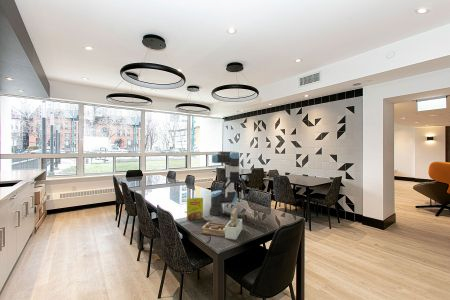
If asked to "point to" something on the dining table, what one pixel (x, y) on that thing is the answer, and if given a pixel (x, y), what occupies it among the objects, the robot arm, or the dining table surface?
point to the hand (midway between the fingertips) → (234, 197)
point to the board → (234, 218)
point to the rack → (208, 225)
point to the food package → (194, 208)
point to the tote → (233, 230)
